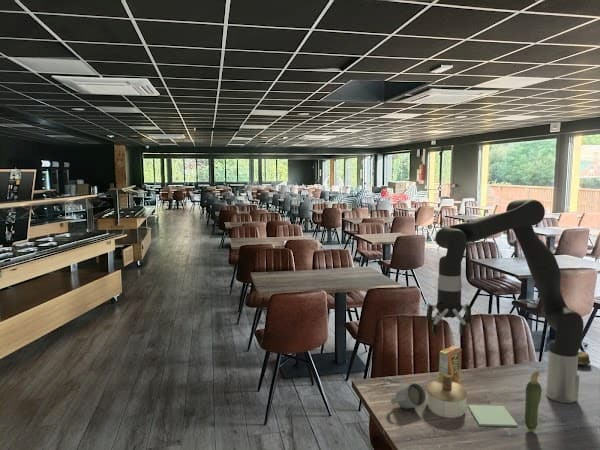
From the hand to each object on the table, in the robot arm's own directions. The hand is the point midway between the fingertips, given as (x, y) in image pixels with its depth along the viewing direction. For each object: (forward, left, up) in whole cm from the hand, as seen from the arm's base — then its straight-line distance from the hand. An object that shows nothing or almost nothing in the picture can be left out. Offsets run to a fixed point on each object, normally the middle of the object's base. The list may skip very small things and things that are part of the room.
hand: (448, 334), depth 153 cm
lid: (0, 0, -21) cm, 21 cm away
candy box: (-5, -15, -27) cm, 31 cm away
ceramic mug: (+14, +2, -27) cm, 30 cm away
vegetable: (-23, +12, -27) cm, 38 cm away
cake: (-66, -44, -27) cm, 84 cm away
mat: (-14, +4, -27) cm, 30 cm away
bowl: (0, 0, -27) cm, 27 cm away
